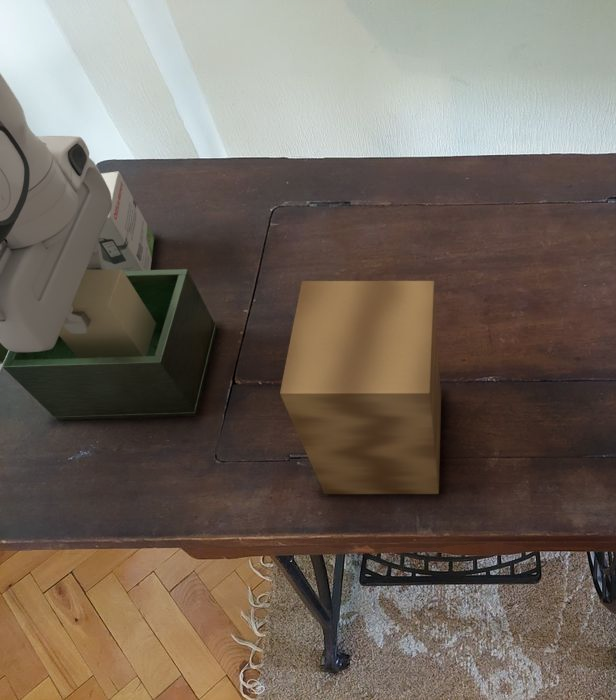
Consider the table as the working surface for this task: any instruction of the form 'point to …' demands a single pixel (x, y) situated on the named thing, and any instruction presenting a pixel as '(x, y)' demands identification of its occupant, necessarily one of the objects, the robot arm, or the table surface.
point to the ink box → (125, 230)
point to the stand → (367, 385)
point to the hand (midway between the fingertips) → (91, 303)
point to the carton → (110, 317)
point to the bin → (130, 361)
